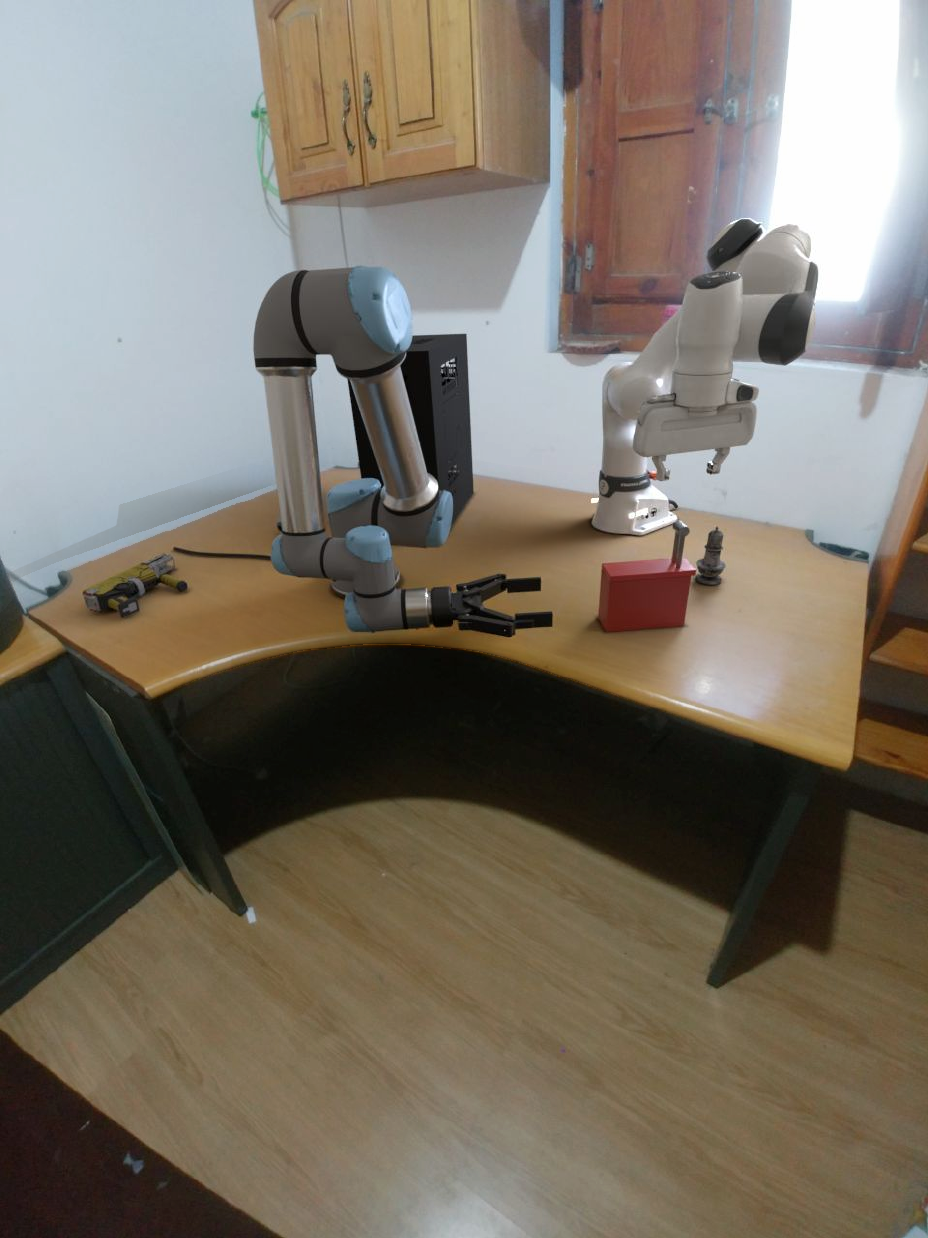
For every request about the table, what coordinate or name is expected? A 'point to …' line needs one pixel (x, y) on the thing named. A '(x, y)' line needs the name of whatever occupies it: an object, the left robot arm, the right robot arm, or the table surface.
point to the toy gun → (131, 586)
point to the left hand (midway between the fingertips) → (546, 600)
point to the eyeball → (279, 523)
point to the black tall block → (433, 414)
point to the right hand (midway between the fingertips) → (687, 476)
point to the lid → (654, 563)
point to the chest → (643, 603)
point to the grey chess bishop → (711, 560)
